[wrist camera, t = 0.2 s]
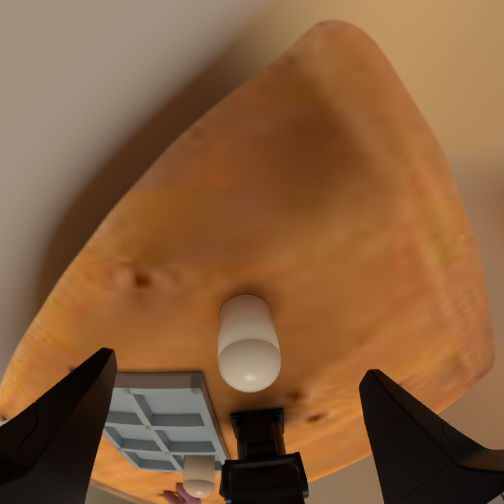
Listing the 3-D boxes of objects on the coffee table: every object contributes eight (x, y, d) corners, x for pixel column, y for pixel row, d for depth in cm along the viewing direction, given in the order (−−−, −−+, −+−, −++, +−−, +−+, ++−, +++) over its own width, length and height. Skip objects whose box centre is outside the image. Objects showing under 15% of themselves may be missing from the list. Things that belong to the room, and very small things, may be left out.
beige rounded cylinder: (216, 459, 37) (218, 501, 30) (188, 459, 37) (186, 500, 30) (211, 447, 35) (212, 493, 28) (180, 447, 35) (178, 492, 28)
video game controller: (177, 488, 48) (189, 513, 44) (160, 492, 45) (172, 517, 41) (194, 479, 45) (208, 506, 41) (175, 483, 42) (189, 511, 37)
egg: (272, 333, 26) (286, 400, 19) (222, 338, 26) (223, 406, 19) (270, 291, 24) (286, 358, 17) (215, 297, 24) (212, 366, 17)
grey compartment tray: (231, 460, 38) (231, 472, 36) (137, 458, 38) (136, 469, 36) (201, 371, 28) (200, 387, 26) (70, 370, 27) (64, 383, 25)
